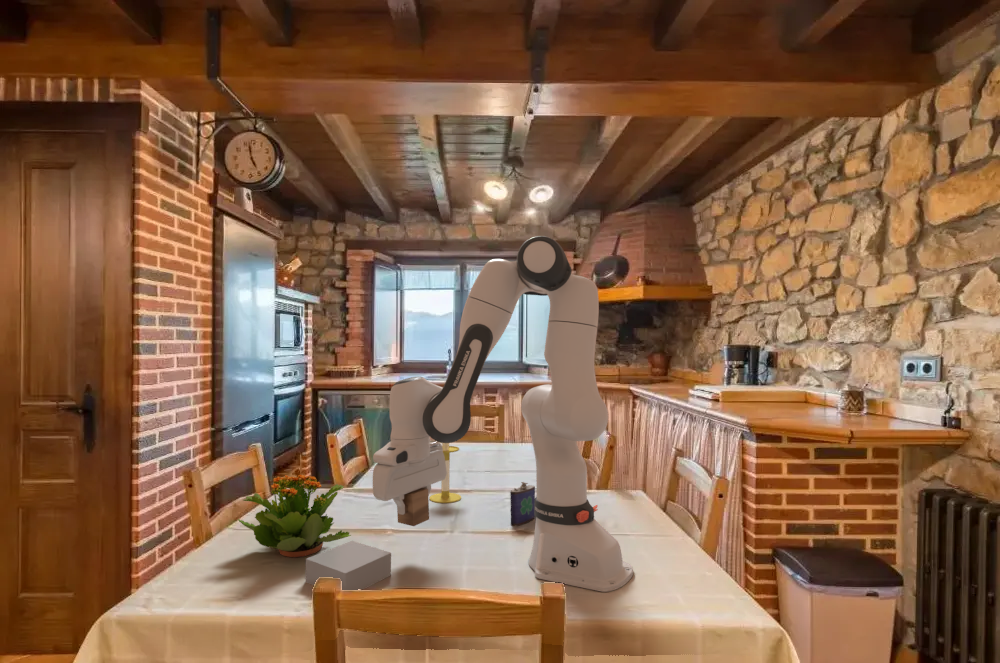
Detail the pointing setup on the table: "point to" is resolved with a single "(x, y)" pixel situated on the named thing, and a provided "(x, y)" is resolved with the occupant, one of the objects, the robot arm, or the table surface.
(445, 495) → the wheel axle
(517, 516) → the flask
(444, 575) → the table surface
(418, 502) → the walnut block
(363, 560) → the plate
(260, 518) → the potted flower
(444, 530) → the table surface
